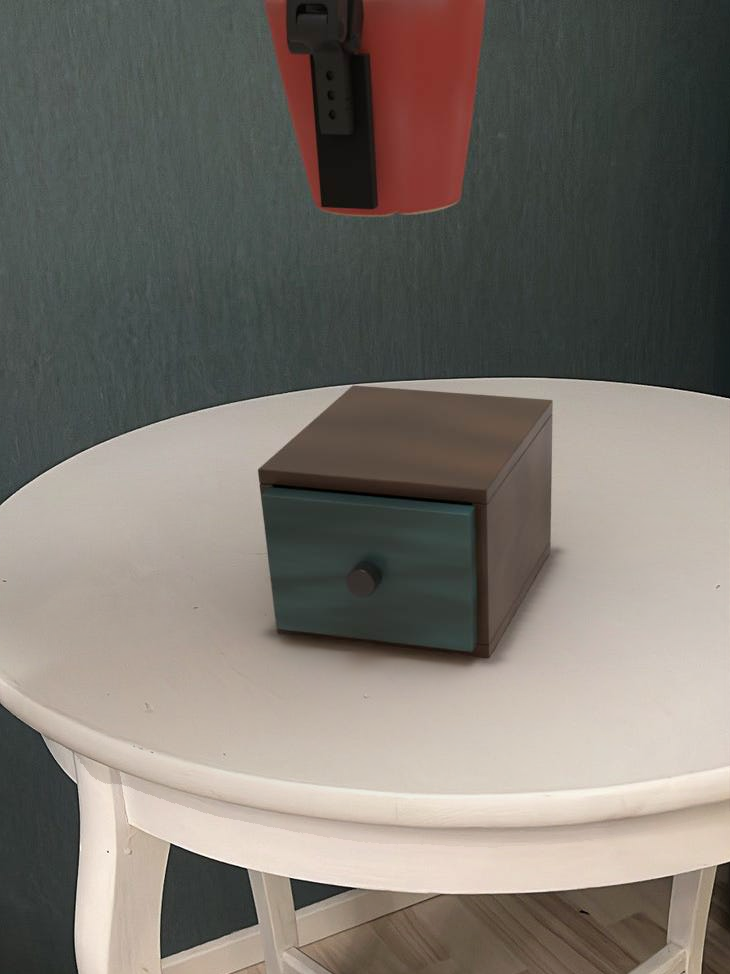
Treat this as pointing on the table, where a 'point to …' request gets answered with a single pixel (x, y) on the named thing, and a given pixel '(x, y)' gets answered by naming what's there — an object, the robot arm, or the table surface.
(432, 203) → the flower pot
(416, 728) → the table surface
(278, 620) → the drawer
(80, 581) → the table surface
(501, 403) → the cabinet
